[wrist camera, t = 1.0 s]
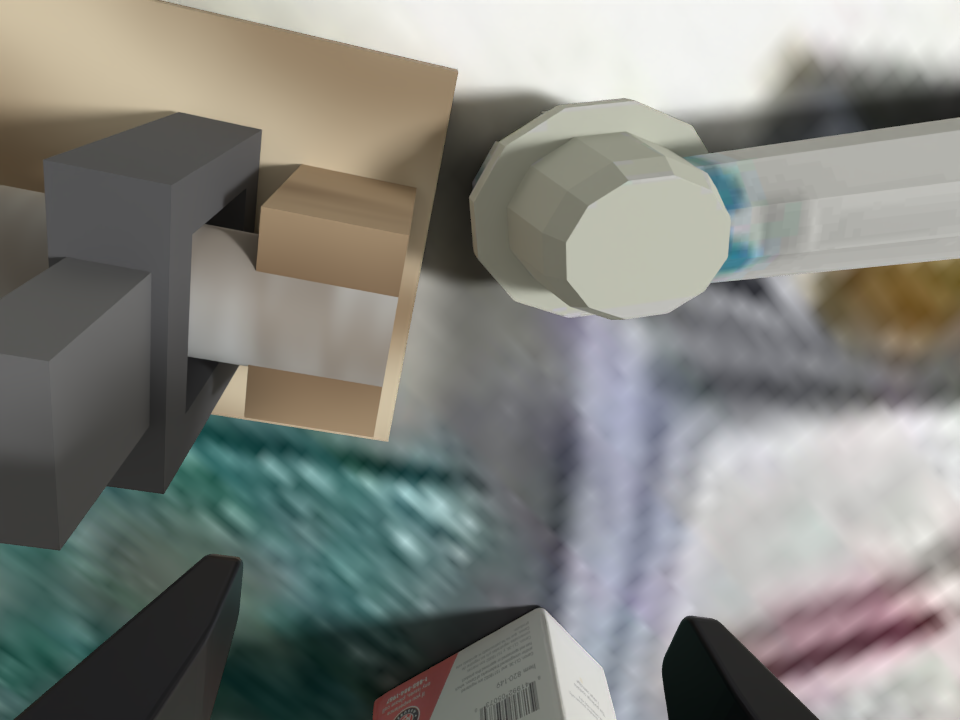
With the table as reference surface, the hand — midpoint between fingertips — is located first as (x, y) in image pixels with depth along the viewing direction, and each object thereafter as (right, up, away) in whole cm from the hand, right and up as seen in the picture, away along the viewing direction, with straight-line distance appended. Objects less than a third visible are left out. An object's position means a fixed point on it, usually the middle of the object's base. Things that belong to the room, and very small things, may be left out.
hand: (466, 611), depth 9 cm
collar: (-7, +6, +10) cm, 13 cm away
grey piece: (+12, +9, +11) cm, 19 cm away
